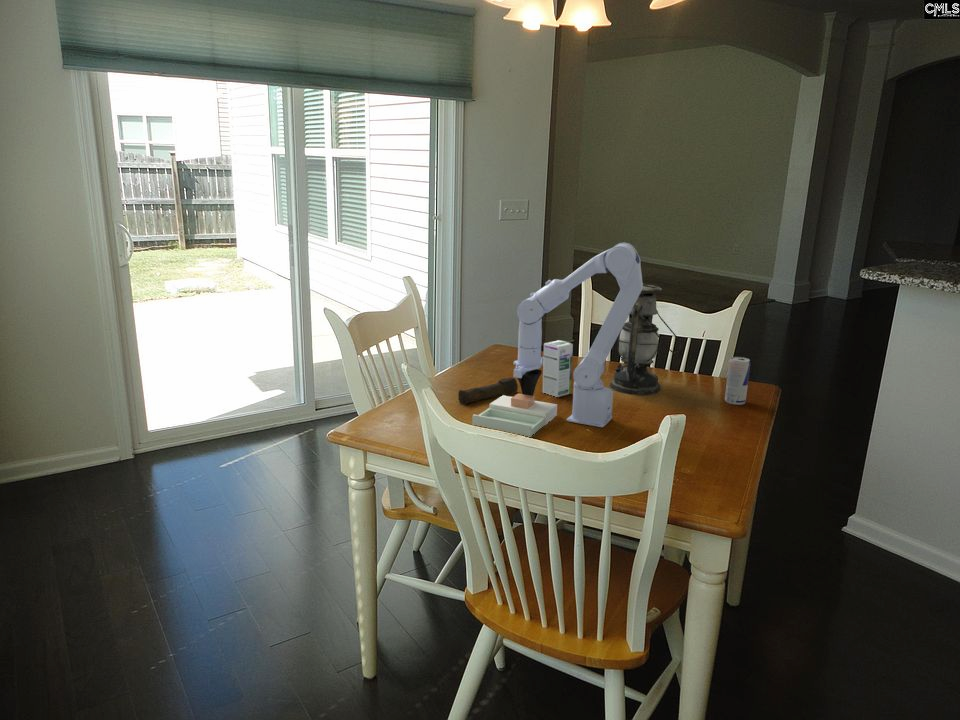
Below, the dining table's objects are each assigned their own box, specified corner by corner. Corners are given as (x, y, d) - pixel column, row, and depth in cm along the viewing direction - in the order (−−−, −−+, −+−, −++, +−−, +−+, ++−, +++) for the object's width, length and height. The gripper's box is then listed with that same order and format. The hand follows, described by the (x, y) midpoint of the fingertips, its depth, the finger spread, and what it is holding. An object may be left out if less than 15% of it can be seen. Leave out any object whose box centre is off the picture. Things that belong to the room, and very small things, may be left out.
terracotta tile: (534, 403, 176) (534, 396, 176) (527, 408, 172) (527, 401, 172) (518, 400, 178) (518, 393, 178) (510, 405, 174) (511, 398, 174)
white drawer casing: (556, 415, 177) (557, 404, 176) (545, 425, 170) (545, 413, 169) (502, 406, 183) (502, 395, 182) (489, 415, 176) (489, 403, 176)
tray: (544, 425, 170) (545, 414, 169) (530, 438, 162) (530, 425, 161) (488, 415, 176) (489, 404, 175) (472, 426, 168) (472, 415, 168)
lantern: (619, 375, 213) (626, 276, 205) (683, 384, 205) (693, 282, 197) (601, 392, 196) (608, 285, 188) (670, 402, 188) (680, 292, 180)
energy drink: (748, 402, 190) (754, 359, 187) (740, 406, 186) (745, 363, 183) (729, 397, 193) (734, 355, 190) (721, 402, 190) (726, 359, 186)
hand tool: (465, 406, 183) (465, 390, 182) (457, 402, 186) (457, 385, 185) (523, 395, 193) (523, 379, 192) (514, 391, 196) (515, 375, 195)
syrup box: (557, 398, 190) (559, 346, 187) (541, 392, 195) (543, 342, 191) (571, 394, 194) (573, 343, 190) (555, 389, 198) (557, 339, 194)
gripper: (526, 338, 182) (524, 388, 186) (502, 350, 170) (501, 403, 173) (551, 341, 179) (549, 392, 183) (529, 354, 167) (527, 408, 170)
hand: (527, 398), depth 178 cm, fingers closed
